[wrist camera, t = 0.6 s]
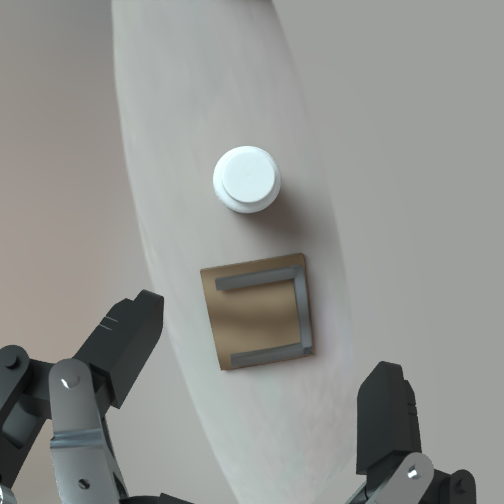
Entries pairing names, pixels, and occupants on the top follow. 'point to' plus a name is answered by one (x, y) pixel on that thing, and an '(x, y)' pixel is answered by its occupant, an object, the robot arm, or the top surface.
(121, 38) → the top surface
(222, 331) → the notched cradle board
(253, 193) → the supplement bottle
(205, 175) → the top surface
